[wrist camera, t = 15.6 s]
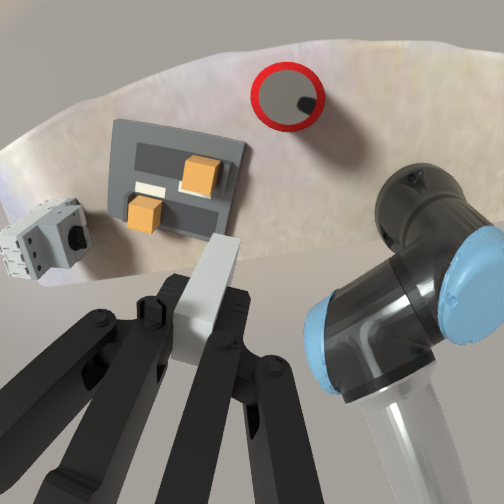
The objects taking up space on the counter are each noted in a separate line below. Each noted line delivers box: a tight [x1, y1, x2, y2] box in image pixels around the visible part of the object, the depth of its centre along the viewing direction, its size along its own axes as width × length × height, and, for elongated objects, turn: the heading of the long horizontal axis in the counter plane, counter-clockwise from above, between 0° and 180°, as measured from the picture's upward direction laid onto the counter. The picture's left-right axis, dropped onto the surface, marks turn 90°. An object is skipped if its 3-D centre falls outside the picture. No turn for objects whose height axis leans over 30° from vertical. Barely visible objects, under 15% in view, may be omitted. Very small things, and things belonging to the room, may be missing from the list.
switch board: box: [108, 119, 246, 241], centre depth 45 cm, size 20×16×4 cm
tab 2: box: [181, 155, 221, 196], centre depth 42 cm, size 4×4×4 cm
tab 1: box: [128, 195, 162, 234], centre depth 45 cm, size 4×4×4 cm
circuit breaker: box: [0, 198, 93, 280], centre depth 45 cm, size 8×14×15 cm, turn 92°
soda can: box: [251, 62, 325, 132], centre depth 33 cm, size 8×8×12 cm
